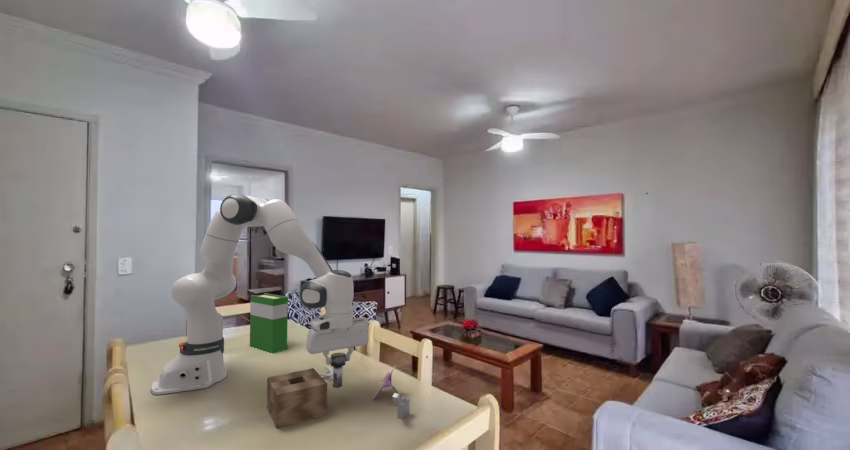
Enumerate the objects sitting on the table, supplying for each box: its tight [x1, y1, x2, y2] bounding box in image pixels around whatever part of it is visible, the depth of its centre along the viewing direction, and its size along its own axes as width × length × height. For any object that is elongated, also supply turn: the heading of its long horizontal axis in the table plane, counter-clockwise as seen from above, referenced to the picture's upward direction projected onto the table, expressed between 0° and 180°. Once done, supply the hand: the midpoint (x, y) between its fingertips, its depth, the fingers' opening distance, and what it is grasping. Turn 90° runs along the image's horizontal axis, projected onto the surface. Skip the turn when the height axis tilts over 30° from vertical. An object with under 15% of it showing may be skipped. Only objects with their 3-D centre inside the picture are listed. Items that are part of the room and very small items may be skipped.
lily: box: [372, 365, 399, 400], centre depth 116 cm, size 12×12×10 cm
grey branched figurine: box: [319, 365, 333, 383], centre depth 132 cm, size 10×2×15 cm
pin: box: [330, 352, 347, 389], centre depth 116 cm, size 5×5×10 cm
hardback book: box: [249, 292, 289, 355], centre depth 164 cm, size 18×7×24 cm, turn 57°
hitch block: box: [266, 367, 328, 429], centre depth 106 cm, size 14×14×9 cm
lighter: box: [391, 392, 410, 421], centre depth 102 cm, size 7×2×8 cm, turn 154°
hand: (338, 362), depth 116 cm, fingers closed on pin, 5 cm apart
